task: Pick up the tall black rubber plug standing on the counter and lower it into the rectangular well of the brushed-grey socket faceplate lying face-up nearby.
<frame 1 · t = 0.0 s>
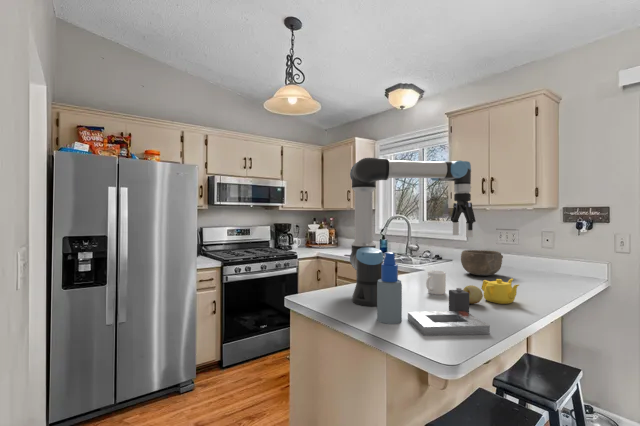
hand: (462, 236, 164), 28 cm above the countertop, fingers open, 13 cm apart
teapot: (501, 302, 149), on the countertop
bowl: (481, 275, 210), on the countertop
fruit: (472, 304, 145), on the countertop
socket plate: (446, 326, 116), on the countertop
mug: (434, 293, 163), on the countertop
plug: (458, 314, 130), on the countertop
spray bottle: (389, 320, 123), on the countertop
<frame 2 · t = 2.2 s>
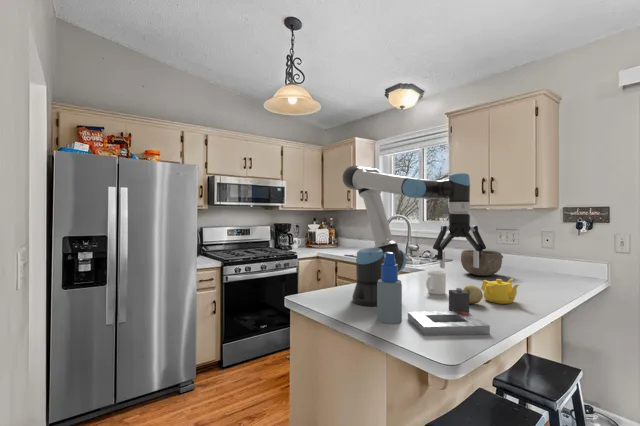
hand: (459, 267, 130), 18 cm above the countertop, fingers open, 13 cm apart
nothing on the countertop moved.
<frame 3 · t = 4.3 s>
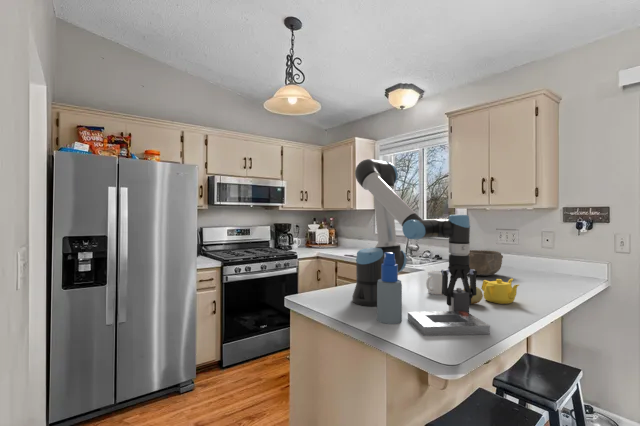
hand: (458, 313, 130), 0 cm above the countertop, fingers closed on plug, 5 cm apart
plug: (458, 314, 130), on the countertop, touching gripper
everything else where it was.
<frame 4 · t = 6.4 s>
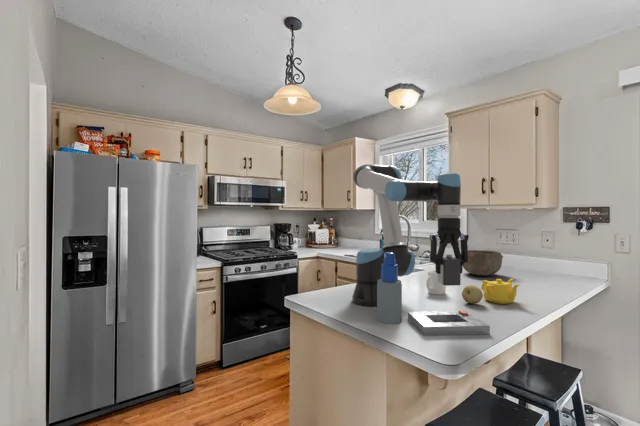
hand: (448, 282, 118), 15 cm above the countertop, fingers closed on plug, 5 cm apart
plug: (449, 283, 118), point 15 cm above the countertop, touching gripper
everything else where it was.
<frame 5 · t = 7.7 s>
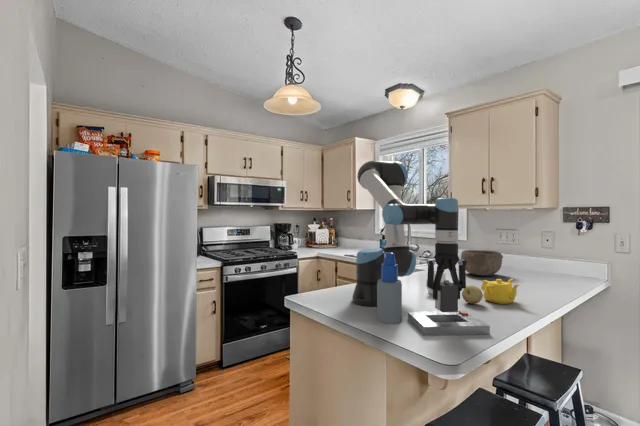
hand: (446, 308, 116), 6 cm above the countertop, fingers closed on plug, 5 cm apart
plug: (446, 309, 116), point 6 cm above the countertop, touching gripper
everything else where it was.
when the fingers open (3 cm above the countertop, at t = 8.7 s): plug drops 2 cm, resting in socket plate.
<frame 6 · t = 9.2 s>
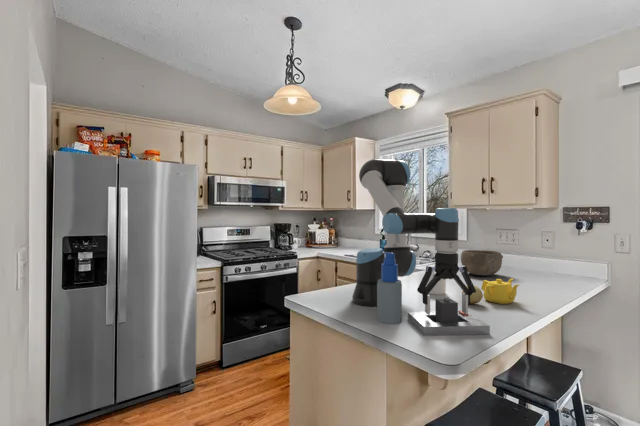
hand: (446, 313, 116), 5 cm above the countertop, fingers open, 13 cm apart
plug: (446, 326, 116), resting in socket plate
everything else where it was.
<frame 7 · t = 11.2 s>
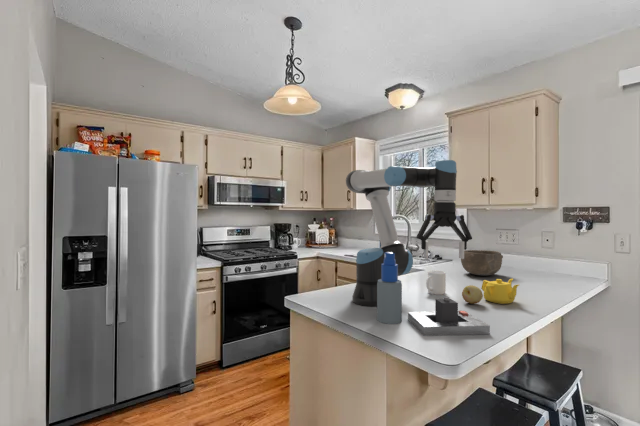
hand: (443, 258, 125), 23 cm above the countertop, fingers open, 13 cm apart
nothing on the countertop moved.
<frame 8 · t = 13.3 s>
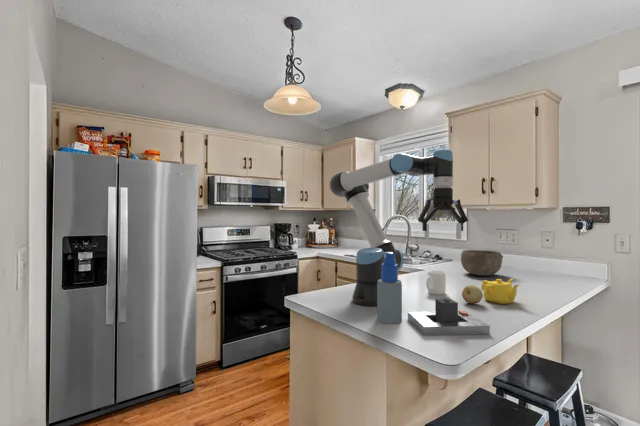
hand: (442, 239, 137), 29 cm above the countertop, fingers open, 13 cm apart
nothing on the countertop moved.
at the end: plug 0.0 cm off-centre on the socket plate, point 0.0 cm above the socket plate's base; plug tilted 0°; the gripper is holding nothing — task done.
